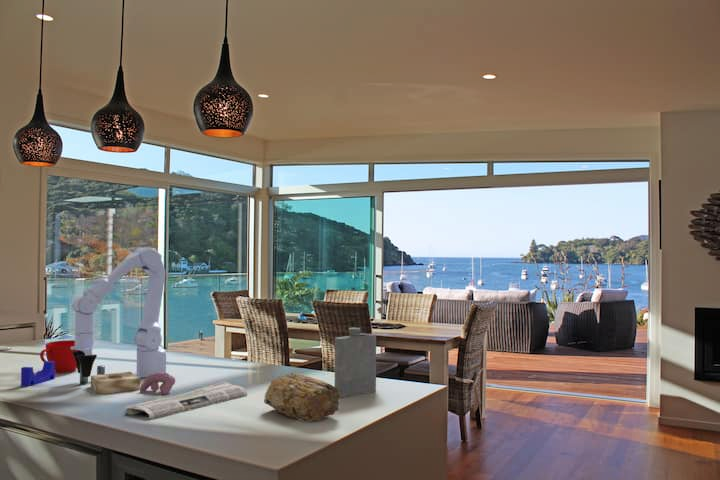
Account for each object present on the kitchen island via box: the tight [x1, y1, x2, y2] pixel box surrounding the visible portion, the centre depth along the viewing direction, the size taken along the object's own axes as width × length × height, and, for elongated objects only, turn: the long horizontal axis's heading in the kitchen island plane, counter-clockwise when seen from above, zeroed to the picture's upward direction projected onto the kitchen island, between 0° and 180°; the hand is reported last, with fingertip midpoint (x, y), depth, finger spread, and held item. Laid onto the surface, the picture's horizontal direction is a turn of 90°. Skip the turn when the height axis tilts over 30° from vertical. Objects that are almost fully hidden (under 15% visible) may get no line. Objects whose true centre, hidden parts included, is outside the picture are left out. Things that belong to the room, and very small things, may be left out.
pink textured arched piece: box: [139, 372, 176, 395], centre depth 192 cm, size 10×5×7 cm, turn 71°
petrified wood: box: [263, 372, 340, 422], centre depth 166 cm, size 19×13×10 cm
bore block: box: [90, 371, 141, 395], centre depth 197 cm, size 12×12×4 cm
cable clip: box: [20, 360, 56, 387], centre depth 205 cm, size 12×4×6 cm, turn 169°
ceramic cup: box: [39, 339, 77, 373], centre depth 223 cm, size 13×17×10 cm
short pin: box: [96, 365, 106, 375], centre depth 209 cm, size 2×2×4 cm
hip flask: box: [334, 327, 377, 400], centre depth 191 cm, size 16×4×20 cm, turn 133°
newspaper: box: [125, 380, 248, 421], centre depth 178 cm, size 35×12×4 cm, turn 144°
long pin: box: [79, 365, 89, 386], centre depth 203 cm, size 2×2×8 cm
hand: (83, 374), depth 203 cm, fingers open, 7 cm apart
